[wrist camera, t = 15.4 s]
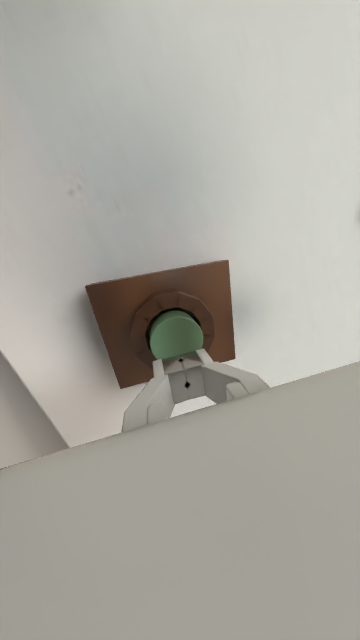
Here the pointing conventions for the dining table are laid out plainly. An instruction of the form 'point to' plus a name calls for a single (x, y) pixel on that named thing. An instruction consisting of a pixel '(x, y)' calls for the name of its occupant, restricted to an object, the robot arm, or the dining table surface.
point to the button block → (152, 301)
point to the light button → (174, 335)
